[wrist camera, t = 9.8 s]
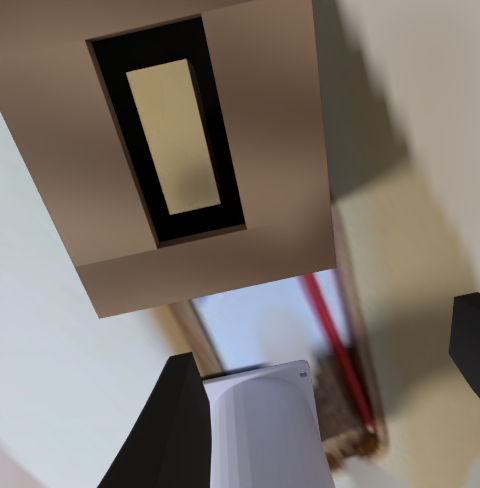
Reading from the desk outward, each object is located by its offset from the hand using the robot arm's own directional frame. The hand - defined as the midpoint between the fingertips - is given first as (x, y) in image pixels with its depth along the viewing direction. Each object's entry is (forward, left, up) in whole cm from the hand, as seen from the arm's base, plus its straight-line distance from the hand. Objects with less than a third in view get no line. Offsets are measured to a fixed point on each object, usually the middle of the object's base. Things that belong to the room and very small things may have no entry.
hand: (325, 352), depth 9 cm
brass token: (+6, +3, -11) cm, 12 cm away
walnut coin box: (+6, +3, -10) cm, 12 cm away
